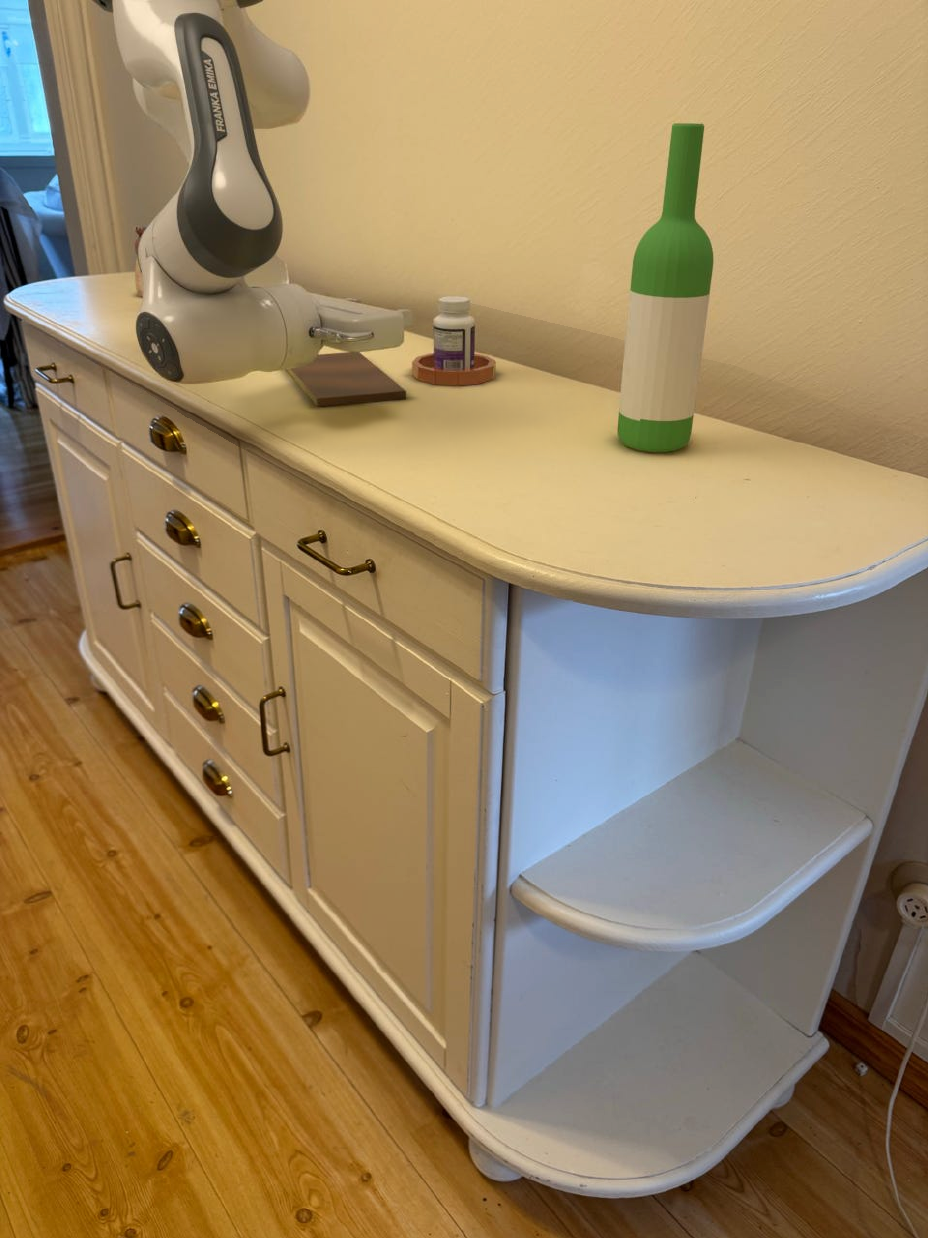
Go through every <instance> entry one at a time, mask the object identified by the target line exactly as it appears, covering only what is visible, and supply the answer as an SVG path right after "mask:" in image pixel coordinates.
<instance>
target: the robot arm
mask: <svg viewBox="0 0 928 1238" xmlns="http://www.w3.org/2000/svg"><path fill="white" fill-rule="evenodd" d="M263 1H264V0H92V2H94V3H95V4H96V5H97V6H98V7H100V8H101V9H102V10H103V11H105V12H107V13H112V14H113V23H114V32H115V37H116V42H117V46H118V50H119V52H120V56H121V59H122V62H123V65H124V68H125V70H126V71H127V72H128V73H129V75H130V76H131V78H132V88H133V92H134V95H135V98H136V101H137V103H138V105H139V106H140V108H141V110H142V111H143V113H144V114H145V115H146V116H147V117H148V119H149V120H151V121H152V122H153V123H154V124H156V125H157V126H158V127H159V128H160V129H162V130H163V131H164V132H165V133H166V134H167V135H168V136H169V137H170V138H171V140H173V142H174V143H175V144H176V145H177V147H178V149H180V152H181V153H182V154H183V156H184V158H185V160H186V162H187V165H188V169H187V172H186V174H185V177H184V179H183V180H182V183H181V184H180V186H179V188H178V190H177V191H176V193H175V194H174V195H173V196H172V197H171V199H169V201H168V203H167V204H166V205H165V206H164V207H163V208H162V209H161V210H160V211H159V212H158V213H157V214H156V215H155V216H154V218H153V219H152V220H151V222H150V223H149V224H148V225H147V226H148V227H147V228H146V230H145V231H144V233H143V234H142V236H141V238H140V240H139V244H138V250H137V253H136V258H137V257H138V263H139V267H140V270H141V273H142V277H143V297H142V302H141V305H140V310H139V312H138V314H137V317H136V320H135V321H136V322H135V333H136V338H137V343H138V345H139V348H140V351H141V353H142V355H143V357H144V359H145V360H146V362H147V363H148V365H149V366H150V367H151V368H152V369H153V370H154V371H155V372H156V374H158V375H159V376H160V377H161V378H163V379H165V380H166V381H169V382H172V383H174V384H179V385H180V384H181V385H202V384H204V385H205V384H211V383H220V382H227V381H231V380H232V381H233V380H237V379H241V378H243V377H246V376H247V375H249V374H252V373H255V372H261V373H274V372H278V371H284V370H286V369H289V368H294V367H299V366H305V365H309V364H311V363H312V362H313V361H314V360H315V359H316V358H317V356H318V354H319V353H320V351H321V350H322V349H323V347H328V348H331V349H335V350H338V351H341V352H360V353H365V352H373V351H382V350H388V349H394V348H399V347H401V346H402V345H403V344H404V342H405V328H408V327H411V326H412V325H413V312H412V310H409V309H407V308H399V309H398V308H397V309H388V308H383V307H378V306H374V305H369V304H365V303H362V301H361V300H360V299H358V298H354V297H349V298H336V297H332V296H326V295H322V294H318V293H313V292H310V291H309V292H308V291H307V290H306V289H305V288H304V287H302V286H301V285H299V284H297V283H290V279H289V278H290V277H289V270H288V269H289V268H288V265H287V262H284V260H282V258H280V257H279V256H278V254H277V252H278V250H279V248H280V246H281V243H282V238H283V231H284V223H283V216H282V211H281V208H280V207H281V206H280V204H279V200H278V199H277V196H276V194H275V191H274V189H273V187H272V184H271V183H270V180H269V178H268V176H267V173H266V172H265V168H264V166H263V162H262V159H261V157H260V152H259V148H258V144H257V139H256V134H255V130H273V129H277V128H281V127H282V128H283V127H286V126H291V125H295V124H299V123H300V122H301V120H302V119H303V117H304V116H305V114H306V112H307V110H308V107H309V104H310V99H311V83H310V78H309V74H308V72H307V69H306V67H305V65H304V64H303V62H302V60H301V58H299V57H298V55H297V54H296V53H295V52H294V51H292V50H290V49H288V48H286V47H284V46H281V45H280V44H279V43H277V42H275V41H273V40H272V39H271V38H269V37H268V35H266V34H265V33H264V32H262V30H260V28H258V27H257V25H256V24H255V23H254V22H253V21H252V19H251V18H250V16H249V15H248V12H247V9H246V8H249V7H252V6H256V5H257V4H260V3H262V2H263Z"/></svg>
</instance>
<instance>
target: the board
mask: <svg viewBox="0 0 928 1238" xmlns="http://www.w3.org/2000/svg"><path fill="white" fill-rule="evenodd" d="M285 370H286V371H287V373H288V374H289V375H290V376H291V377H292V378H293V380H294V381H295V382H296V383H297V385H298V386H299V387H300V388H301V389H302V390H303V392H305V394H306V395H307V396H308V397H309V399H310V400H311V401H312V402H313V403H314V404H315V405H316V407H317V408H319V407H330V406H340V405H341V406H342V405H352V404H362V403H363V404H364V403H372V402H373V403H374V402H375V403H376V402H384V401H386V402H387V401H394V400H395V401H396V400H405V399H407V390H406V389H405V388H403V387H402V386H401V385H399V384H398V383H397V382H396V381H395V380H394V379H392V378H391V377H390V376H389V375H388V374H386V373H385V372H384V371H383V370H382V369H380V368H379V367H378V366H377V365H375V364H374V363H373V362H372V361H371V360H370V359H369V358H367V357H366V356H365V355H364V354H362V352H346V351H343V352H334V353H320V354H318V356H317V358H316V359H315V360H314V361H313V362H312V363H311V364H309V365H305V366H299V367H294V368H289V369H285Z"/></svg>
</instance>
